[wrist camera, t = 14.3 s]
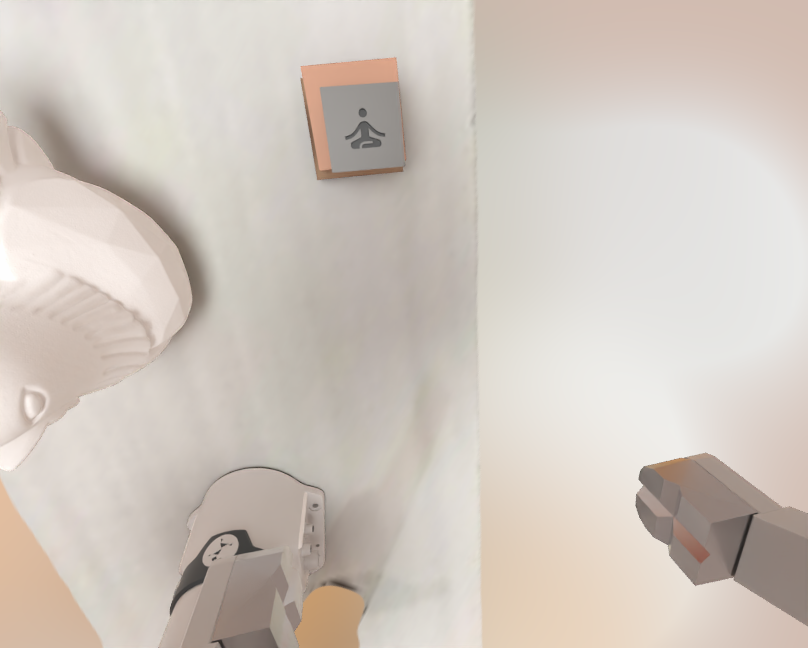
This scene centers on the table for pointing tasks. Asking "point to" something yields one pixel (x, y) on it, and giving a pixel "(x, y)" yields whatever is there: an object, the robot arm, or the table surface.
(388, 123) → the dice cube
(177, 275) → the decorative rooster
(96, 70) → the table surface
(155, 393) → the table surface
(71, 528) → the table surface
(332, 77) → the terracotta top block
